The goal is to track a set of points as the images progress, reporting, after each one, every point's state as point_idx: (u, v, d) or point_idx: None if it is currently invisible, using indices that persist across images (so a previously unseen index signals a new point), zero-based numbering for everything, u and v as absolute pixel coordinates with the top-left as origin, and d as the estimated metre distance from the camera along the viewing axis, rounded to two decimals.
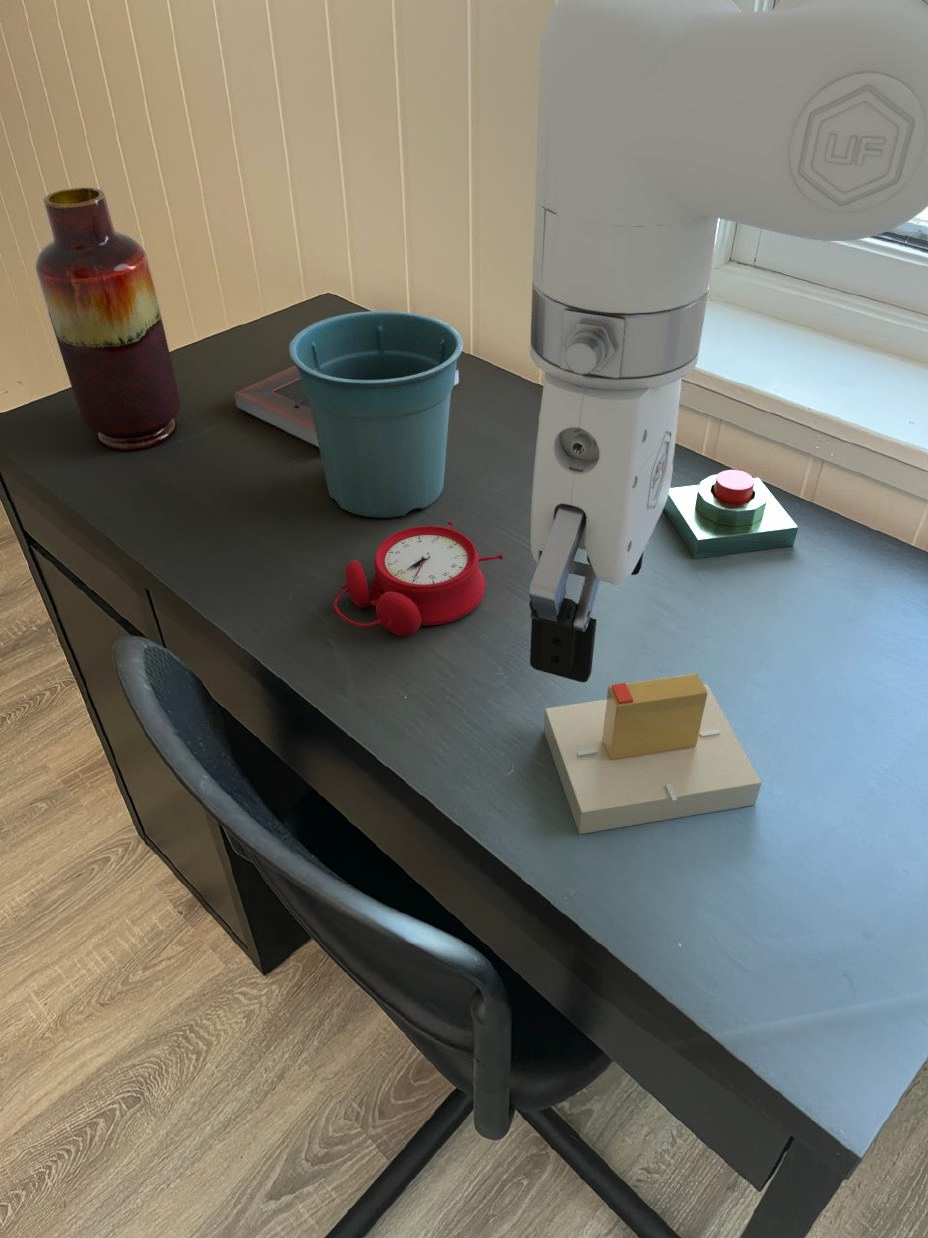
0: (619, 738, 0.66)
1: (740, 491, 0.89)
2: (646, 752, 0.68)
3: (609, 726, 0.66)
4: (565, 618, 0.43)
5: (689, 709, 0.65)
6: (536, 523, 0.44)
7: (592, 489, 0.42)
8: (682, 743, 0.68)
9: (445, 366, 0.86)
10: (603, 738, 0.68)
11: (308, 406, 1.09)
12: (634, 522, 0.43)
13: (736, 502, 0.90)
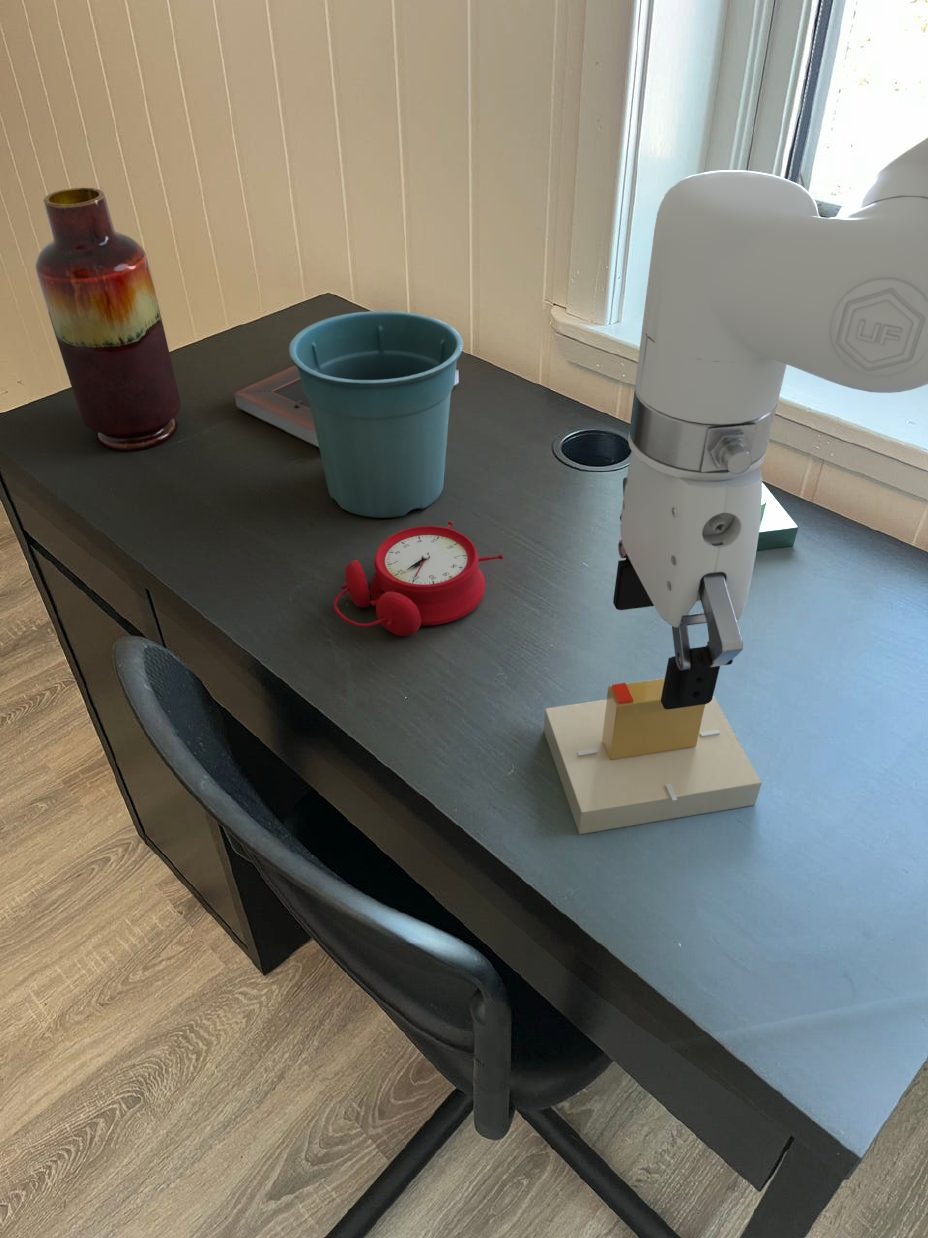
0: (619, 738, 0.66)
1: None
2: (646, 752, 0.68)
3: (609, 726, 0.66)
4: (731, 659, 0.53)
5: (689, 709, 0.65)
6: (682, 595, 0.53)
7: (733, 555, 0.52)
8: (682, 743, 0.68)
9: (445, 366, 0.86)
10: (603, 738, 0.68)
11: (308, 406, 1.09)
12: None
13: None
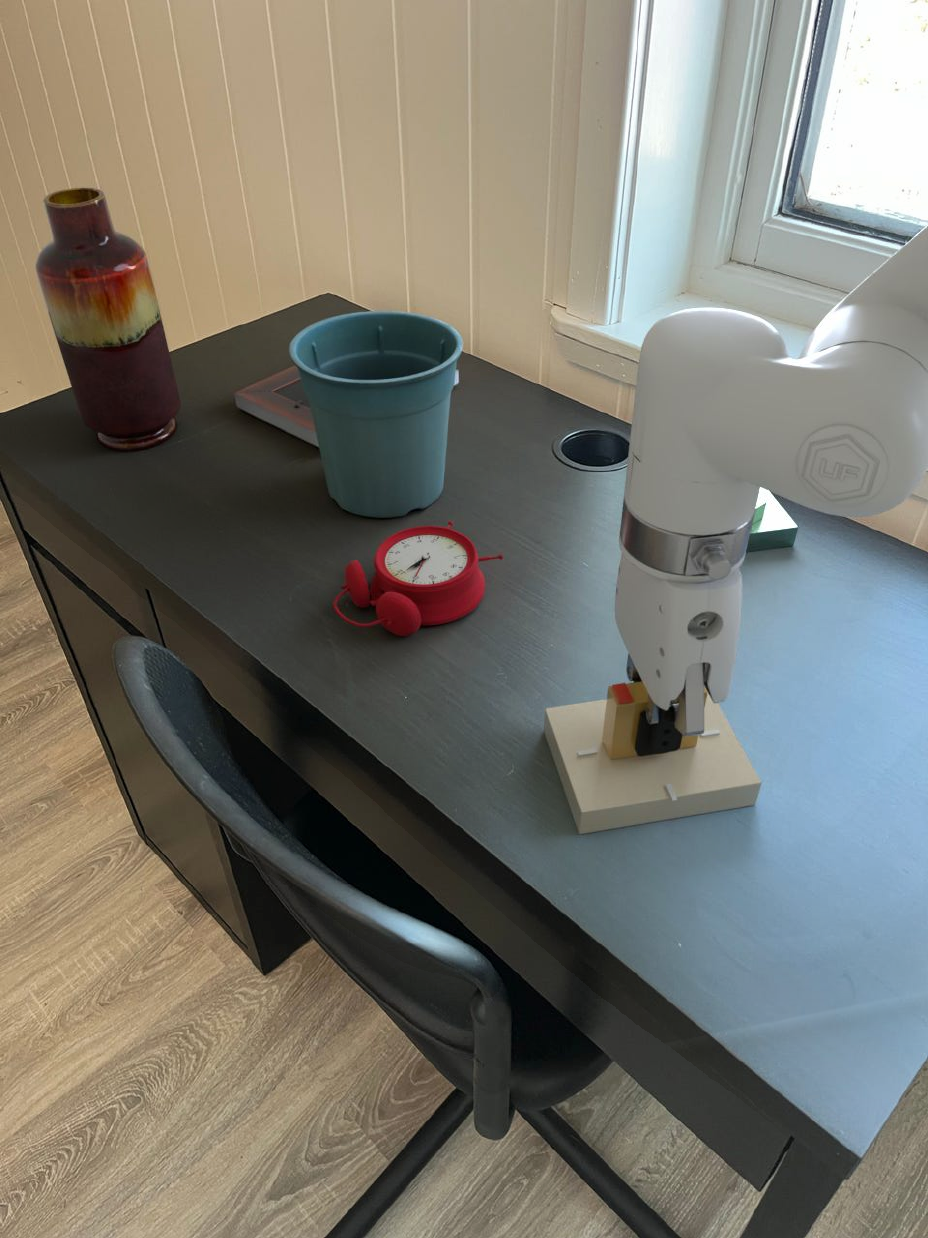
0: (619, 738, 0.66)
1: None
2: None
3: (609, 726, 0.66)
4: None
5: None
6: (670, 683, 0.57)
7: (716, 647, 0.56)
8: (682, 743, 0.68)
9: (445, 366, 0.86)
10: (603, 738, 0.68)
11: (308, 406, 1.09)
12: None
13: None
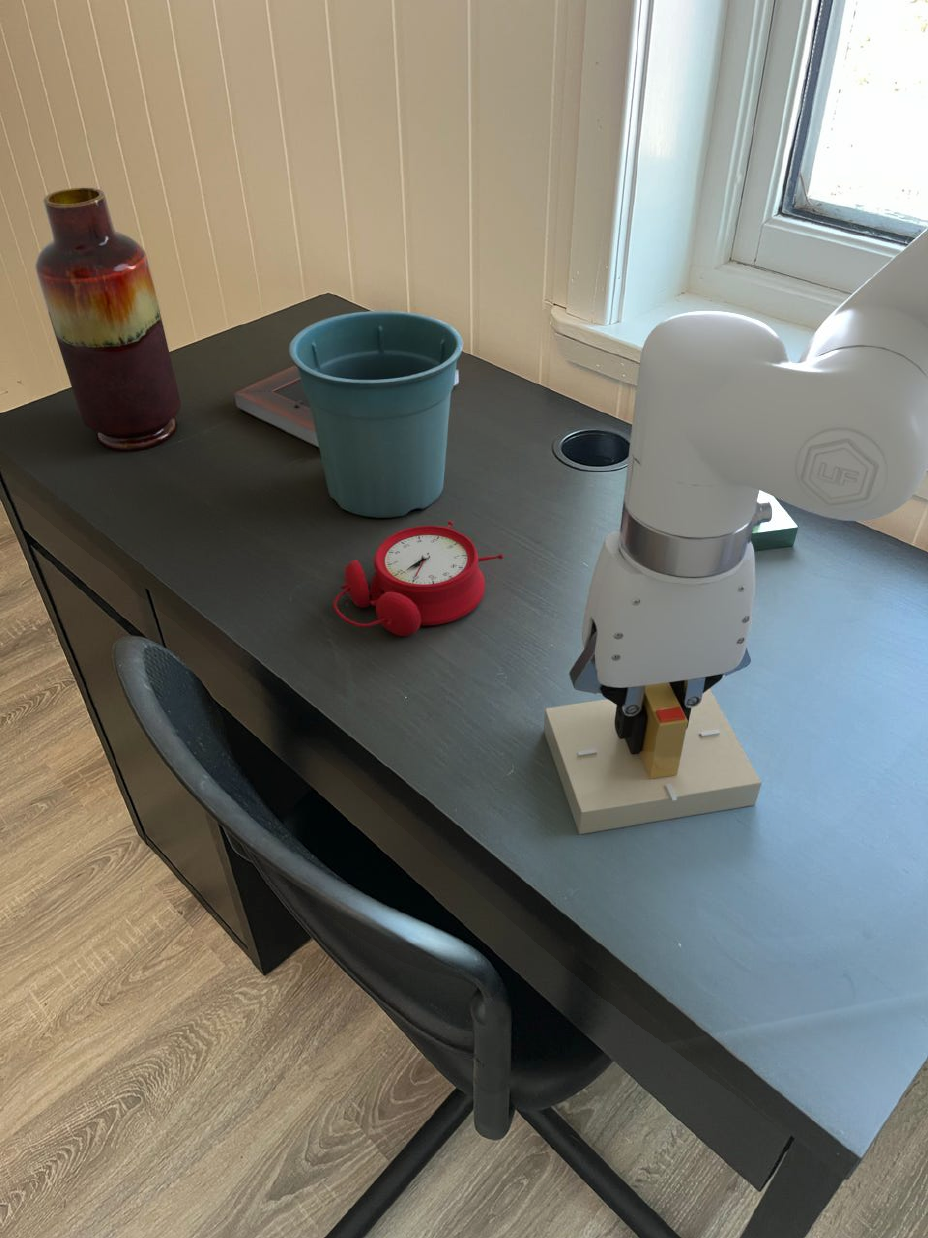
0: None
1: None
2: None
3: (669, 753, 0.64)
4: None
5: None
6: (748, 636, 0.61)
7: None
8: None
9: (445, 366, 0.86)
10: (655, 773, 0.66)
11: (308, 406, 1.09)
12: None
13: None
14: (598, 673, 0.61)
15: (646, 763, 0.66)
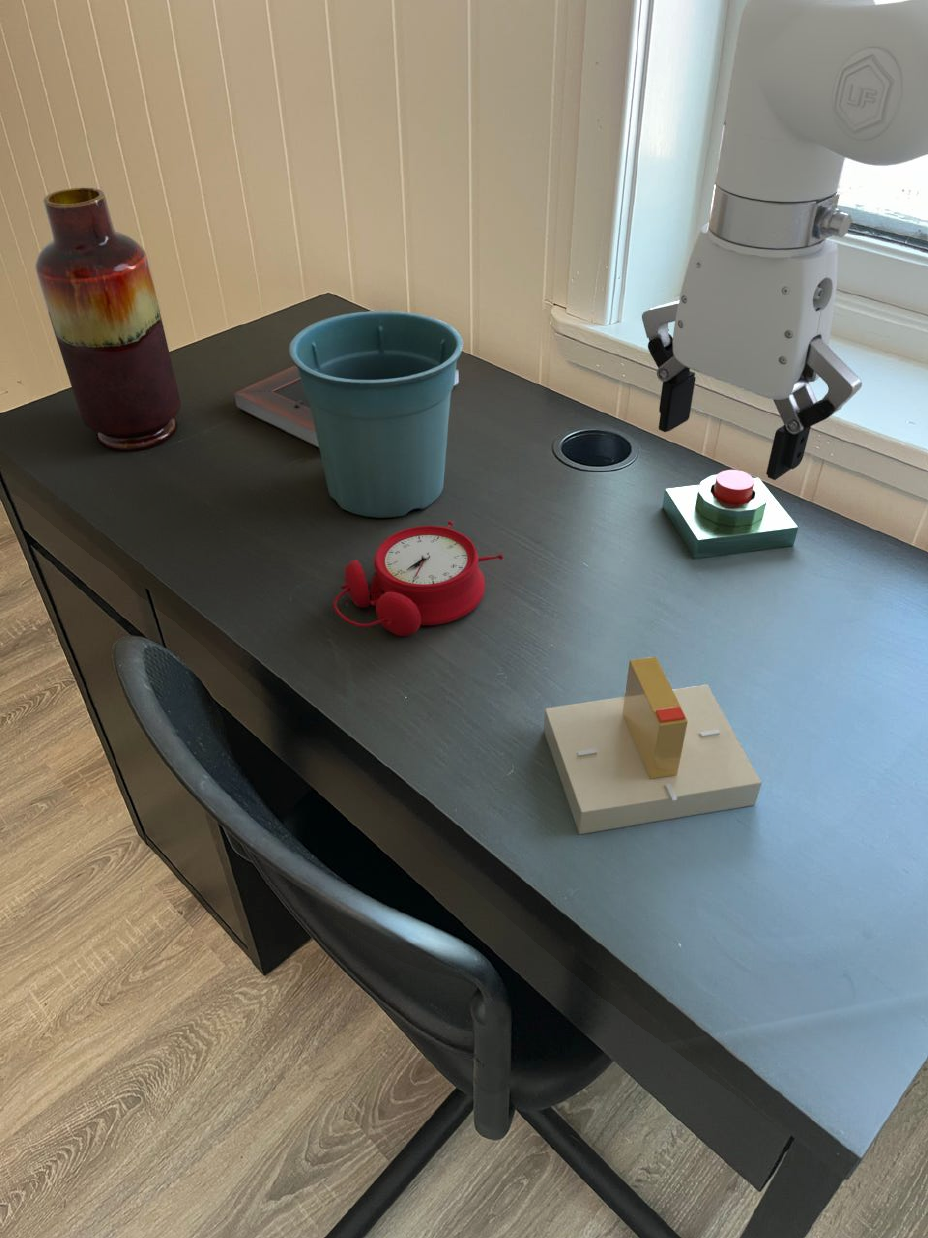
0: None
1: (740, 491, 0.89)
2: None
3: (669, 753, 0.64)
4: None
5: None
6: (797, 363, 0.62)
7: (826, 316, 0.62)
8: None
9: (445, 366, 0.86)
10: (655, 773, 0.66)
11: (308, 406, 1.09)
12: None
13: (736, 502, 0.90)
14: None
15: (646, 763, 0.66)
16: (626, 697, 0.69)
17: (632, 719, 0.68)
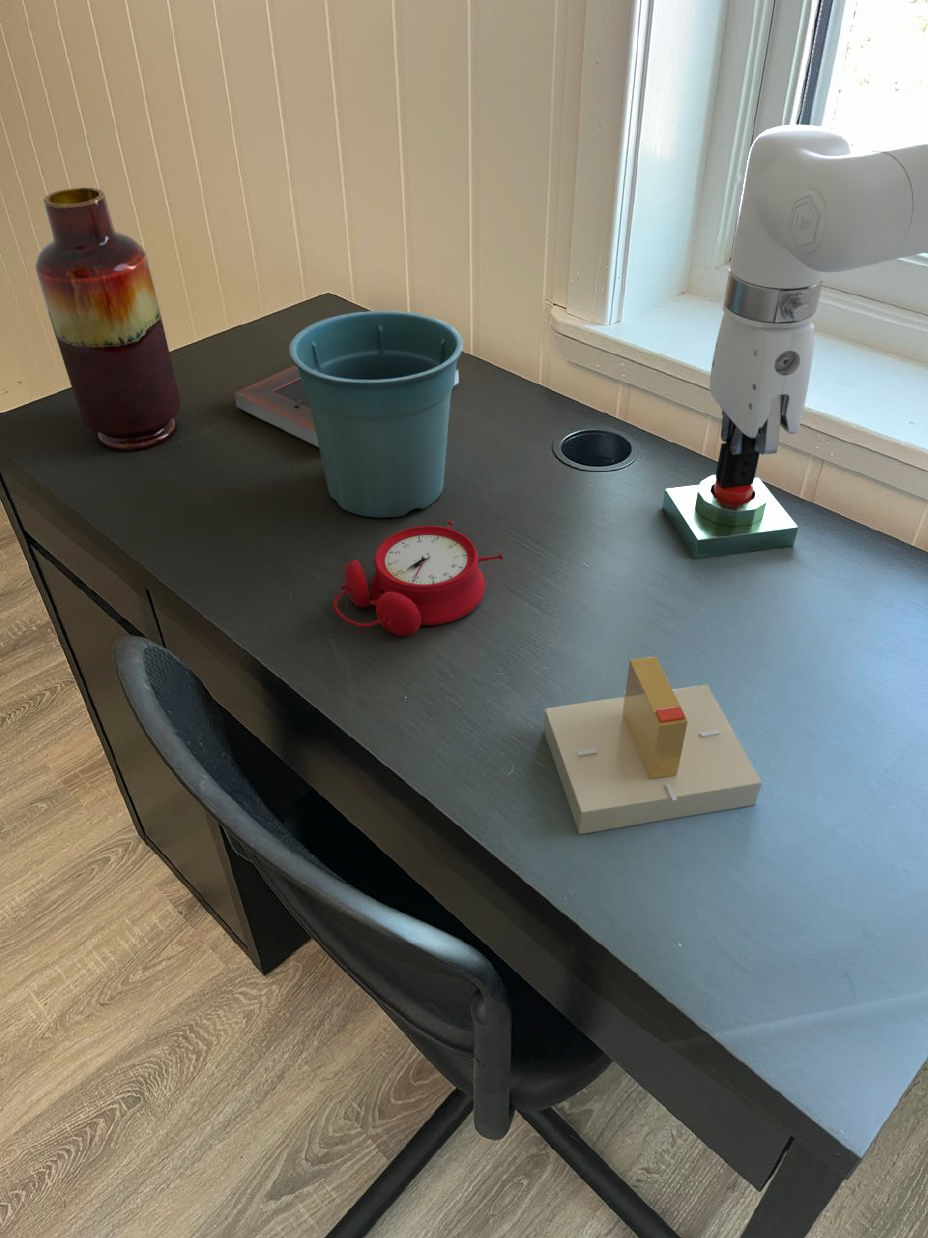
0: None
1: (739, 495, 0.89)
2: None
3: (669, 753, 0.64)
4: None
5: None
6: (759, 411, 0.80)
7: (794, 381, 0.78)
8: None
9: (445, 366, 0.86)
10: (655, 773, 0.66)
11: (308, 406, 1.09)
12: None
13: None
14: None
15: (646, 763, 0.66)
16: (626, 697, 0.69)
17: (632, 719, 0.68)
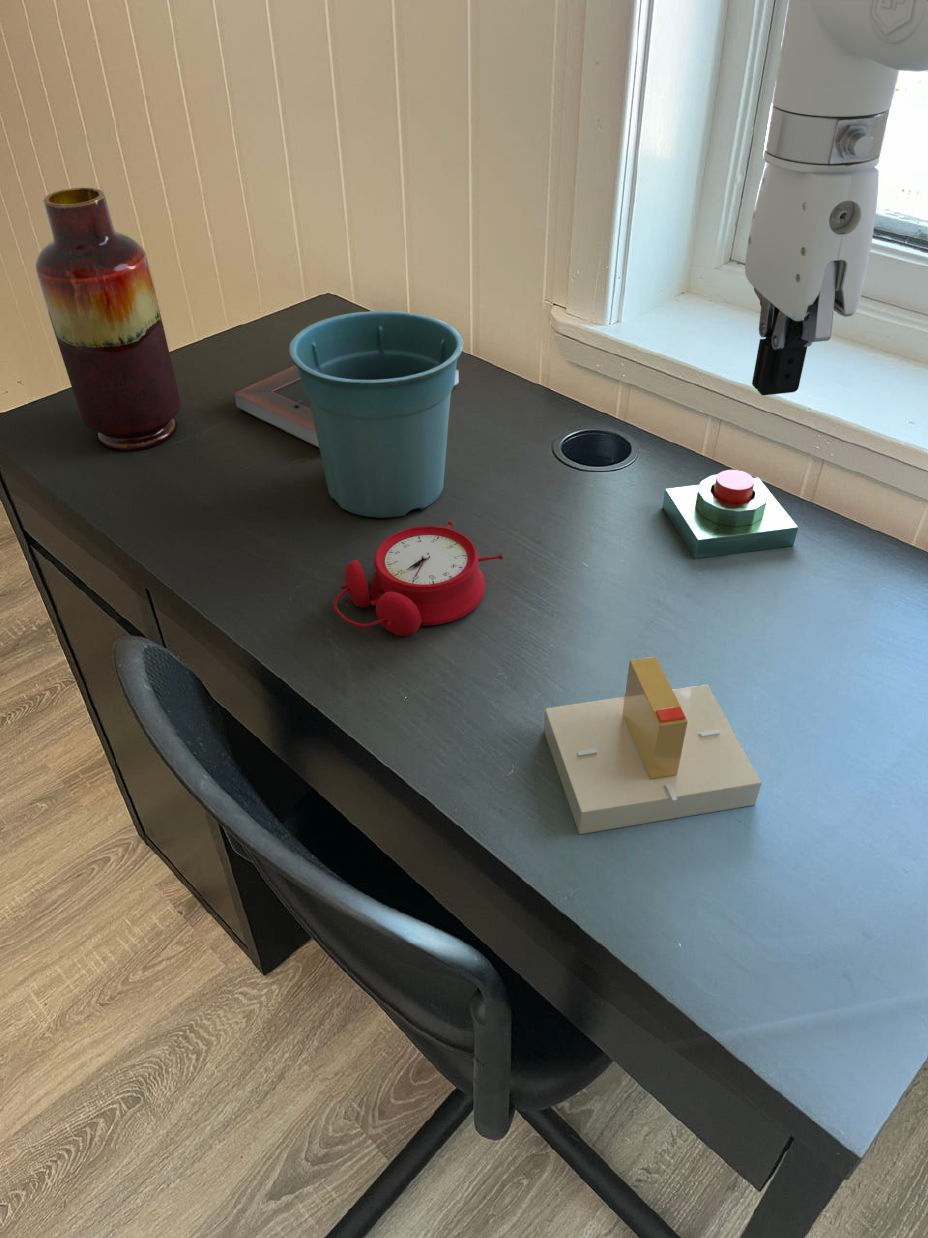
0: None
1: (740, 491, 0.89)
2: None
3: (669, 753, 0.64)
4: None
5: None
6: (809, 283, 0.64)
7: (853, 243, 0.63)
8: None
9: (445, 366, 0.86)
10: (655, 773, 0.66)
11: (308, 406, 1.09)
12: None
13: (736, 502, 0.90)
14: None
15: (646, 763, 0.66)
16: (626, 697, 0.69)
17: (632, 719, 0.68)
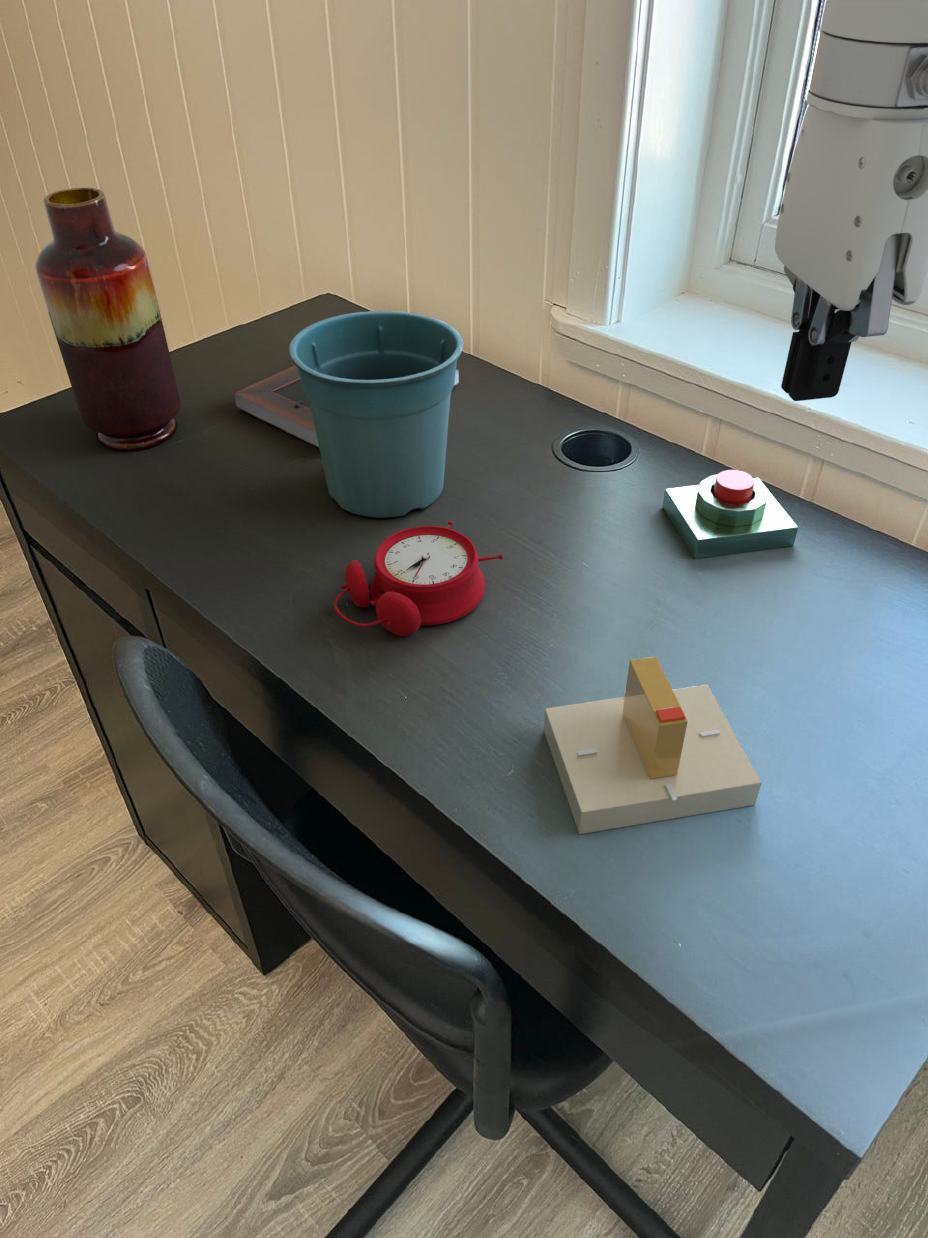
0: None
1: (740, 491, 0.89)
2: None
3: (669, 753, 0.64)
4: None
5: None
6: (864, 263, 0.51)
7: (922, 211, 0.49)
8: None
9: (445, 366, 0.86)
10: (655, 773, 0.66)
11: (308, 406, 1.09)
12: None
13: (736, 502, 0.90)
14: None
15: (646, 763, 0.66)
16: (626, 697, 0.69)
17: (632, 719, 0.68)
